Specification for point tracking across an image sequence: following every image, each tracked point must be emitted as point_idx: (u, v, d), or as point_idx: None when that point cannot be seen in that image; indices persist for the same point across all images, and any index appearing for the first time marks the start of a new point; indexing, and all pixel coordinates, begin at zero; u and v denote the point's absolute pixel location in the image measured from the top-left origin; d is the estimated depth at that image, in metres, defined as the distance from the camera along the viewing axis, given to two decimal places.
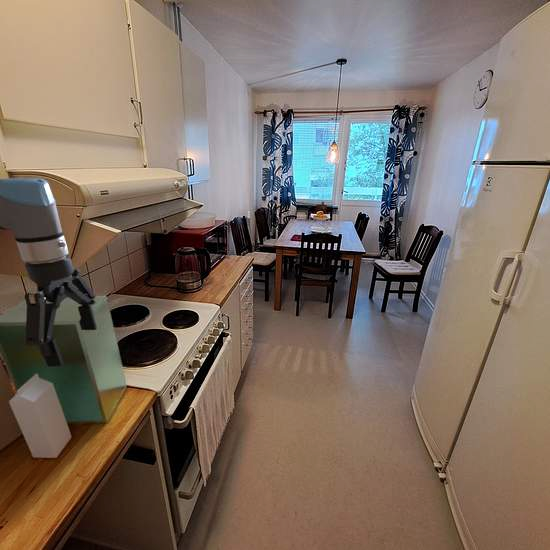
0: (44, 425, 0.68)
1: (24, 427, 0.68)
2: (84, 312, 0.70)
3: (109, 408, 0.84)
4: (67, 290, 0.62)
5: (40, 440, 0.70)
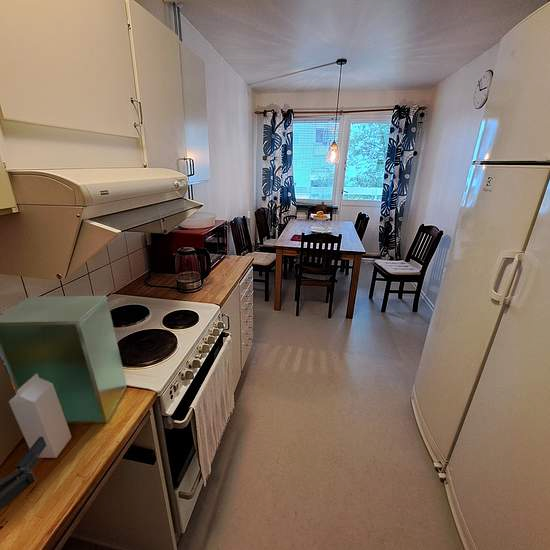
0: (44, 425, 0.68)
1: (24, 427, 0.68)
2: None
3: (109, 408, 0.84)
4: None
5: None
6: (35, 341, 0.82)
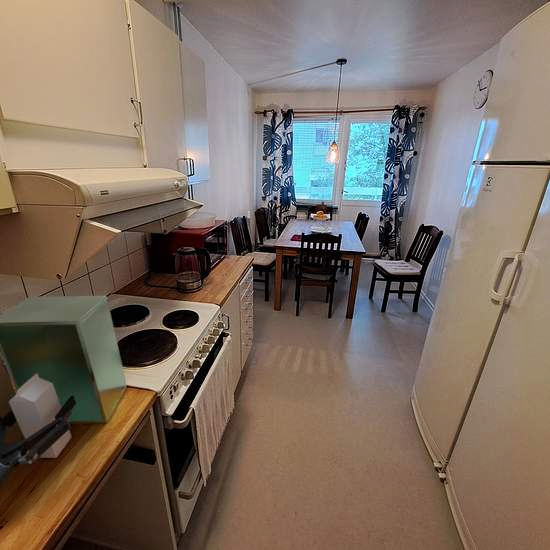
0: (44, 425, 0.68)
1: (24, 427, 0.68)
2: None
3: (109, 408, 0.84)
4: None
5: None
6: (35, 341, 0.82)
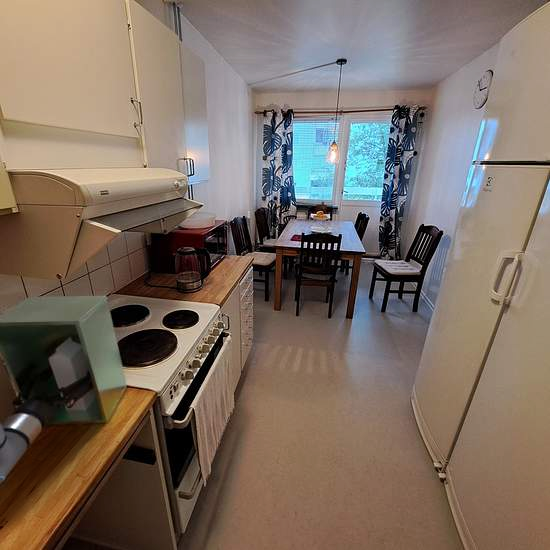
0: (77, 380, 0.81)
1: (60, 382, 0.81)
2: None
3: (109, 408, 0.84)
4: None
5: None
6: (35, 341, 0.82)
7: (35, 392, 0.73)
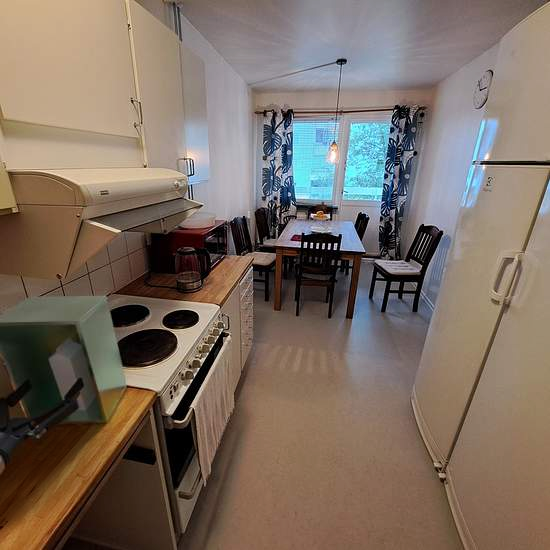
0: None
1: (60, 382, 0.81)
2: None
3: (109, 408, 0.84)
4: None
5: None
6: (35, 341, 0.82)
7: (0, 421, 0.63)
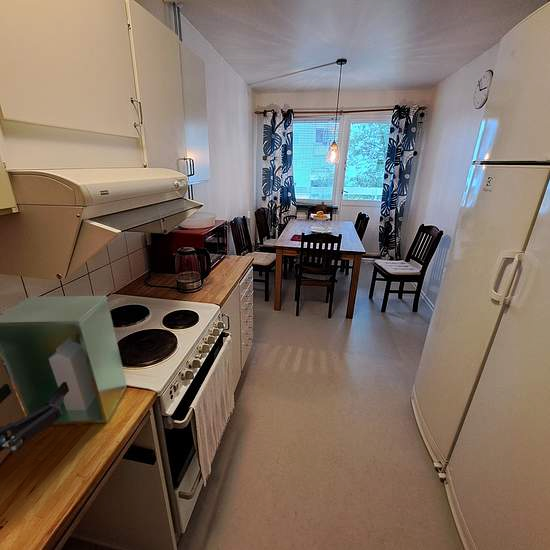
0: (77, 380, 0.81)
1: (60, 382, 0.81)
2: None
3: (109, 408, 0.84)
4: None
5: (73, 393, 0.82)
6: (35, 341, 0.82)
7: None
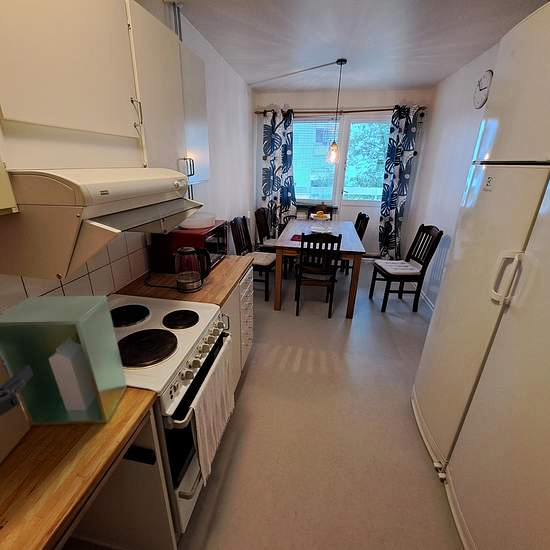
0: (77, 380, 0.81)
1: (60, 382, 0.81)
2: None
3: (109, 408, 0.84)
4: None
5: (73, 393, 0.82)
6: (35, 341, 0.82)
7: None
